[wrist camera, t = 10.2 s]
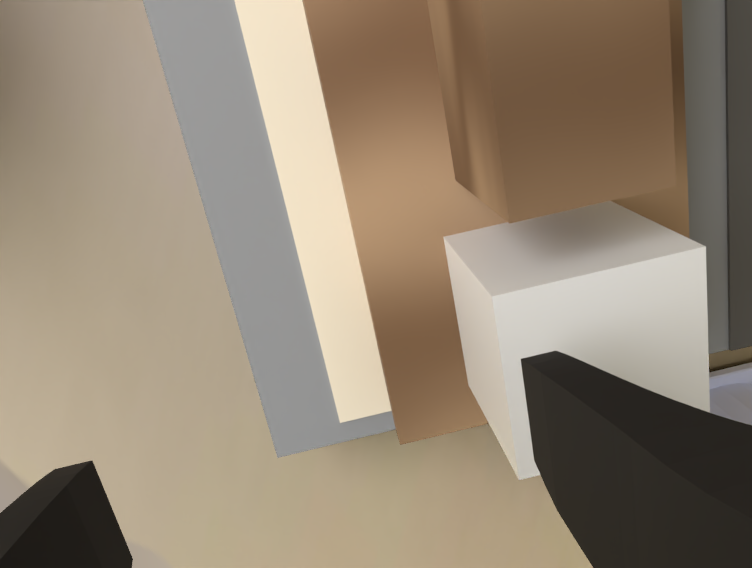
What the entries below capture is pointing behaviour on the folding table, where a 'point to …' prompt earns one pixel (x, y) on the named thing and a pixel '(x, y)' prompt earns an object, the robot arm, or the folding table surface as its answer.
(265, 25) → the dock
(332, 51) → the pallet
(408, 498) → the folding table surface
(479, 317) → the block
